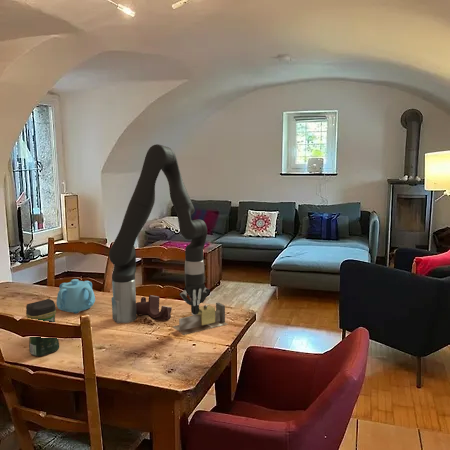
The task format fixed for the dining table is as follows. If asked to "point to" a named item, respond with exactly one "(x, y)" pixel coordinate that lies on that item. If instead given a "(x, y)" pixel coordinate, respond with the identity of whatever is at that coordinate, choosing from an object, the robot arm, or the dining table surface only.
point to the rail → (194, 322)
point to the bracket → (153, 308)
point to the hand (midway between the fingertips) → (195, 313)
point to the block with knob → (207, 314)
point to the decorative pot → (75, 296)
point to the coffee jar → (46, 313)
